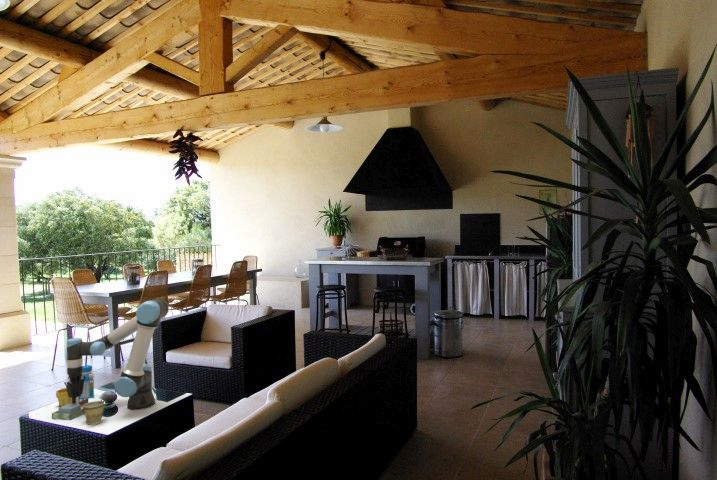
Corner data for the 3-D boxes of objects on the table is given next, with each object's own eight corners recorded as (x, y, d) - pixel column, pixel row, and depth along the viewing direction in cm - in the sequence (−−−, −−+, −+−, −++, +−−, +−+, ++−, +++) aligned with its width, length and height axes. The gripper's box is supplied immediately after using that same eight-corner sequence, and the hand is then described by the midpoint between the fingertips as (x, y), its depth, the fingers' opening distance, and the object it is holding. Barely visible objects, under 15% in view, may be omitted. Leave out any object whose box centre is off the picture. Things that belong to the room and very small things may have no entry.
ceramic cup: (94, 427, 249) (93, 407, 249) (78, 425, 252) (78, 406, 252) (113, 418, 262) (113, 399, 262) (98, 416, 264) (98, 398, 264)
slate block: (81, 413, 267) (80, 404, 267) (71, 418, 260) (70, 408, 260) (69, 412, 268) (68, 403, 268) (58, 417, 262) (58, 408, 262)
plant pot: (67, 410, 277) (67, 393, 277) (52, 409, 279) (51, 392, 279) (81, 404, 287) (80, 387, 287) (66, 403, 289) (65, 386, 289)
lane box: (104, 406, 281) (104, 399, 282) (70, 422, 257) (70, 414, 257) (87, 405, 284) (87, 398, 284) (51, 421, 259) (51, 413, 259)
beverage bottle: (80, 402, 290) (79, 369, 290) (77, 398, 297) (76, 366, 297) (95, 398, 296) (95, 366, 296) (92, 395, 302) (91, 363, 302)
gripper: (78, 363, 275) (79, 404, 275) (59, 369, 263) (60, 412, 263) (89, 363, 274) (90, 405, 274) (71, 369, 261) (72, 413, 261)
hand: (75, 408), depth 268 cm, fingers closed
